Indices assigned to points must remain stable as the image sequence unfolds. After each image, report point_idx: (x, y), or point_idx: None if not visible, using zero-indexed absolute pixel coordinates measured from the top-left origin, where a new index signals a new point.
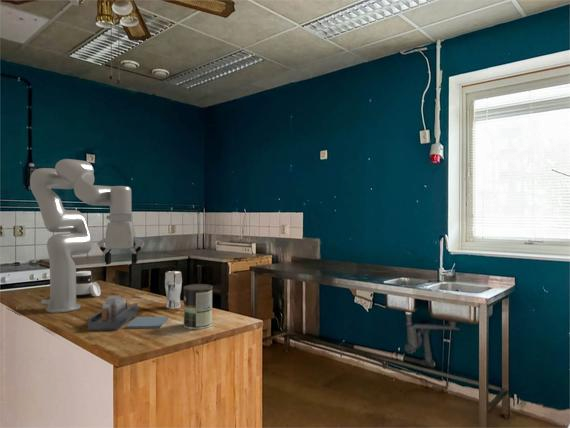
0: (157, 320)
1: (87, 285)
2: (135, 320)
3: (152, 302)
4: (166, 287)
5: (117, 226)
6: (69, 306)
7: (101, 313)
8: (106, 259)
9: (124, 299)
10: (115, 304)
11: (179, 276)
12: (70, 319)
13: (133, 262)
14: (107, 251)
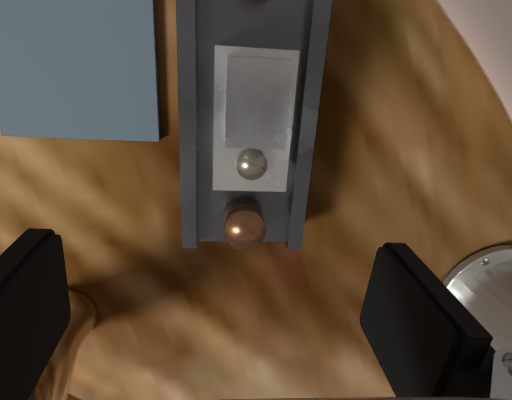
0: (24, 67)
1: None
2: (139, 79)
3: (183, 374)
4: (47, 367)
5: None
6: (474, 281)
7: (303, 81)
8: (426, 276)
9: (213, 174)
10: (223, 46)
11: None
12: (437, 155)
13: (19, 243)
14: (496, 387)
